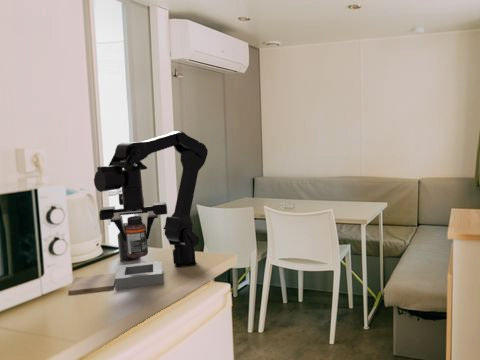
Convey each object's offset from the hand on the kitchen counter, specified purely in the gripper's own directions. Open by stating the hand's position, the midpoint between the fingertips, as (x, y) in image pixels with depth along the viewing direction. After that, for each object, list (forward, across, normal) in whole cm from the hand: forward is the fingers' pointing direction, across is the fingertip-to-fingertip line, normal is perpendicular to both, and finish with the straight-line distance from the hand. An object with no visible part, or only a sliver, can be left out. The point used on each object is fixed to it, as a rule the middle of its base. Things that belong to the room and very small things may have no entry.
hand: (136, 240), depth 137 cm
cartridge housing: (+12, 0, 0) cm, 12 cm away
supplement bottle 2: (+5, 0, 0) cm, 5 cm away
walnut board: (+12, +13, 0) cm, 17 cm away
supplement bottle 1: (+12, +4, -25) cm, 28 cm away
